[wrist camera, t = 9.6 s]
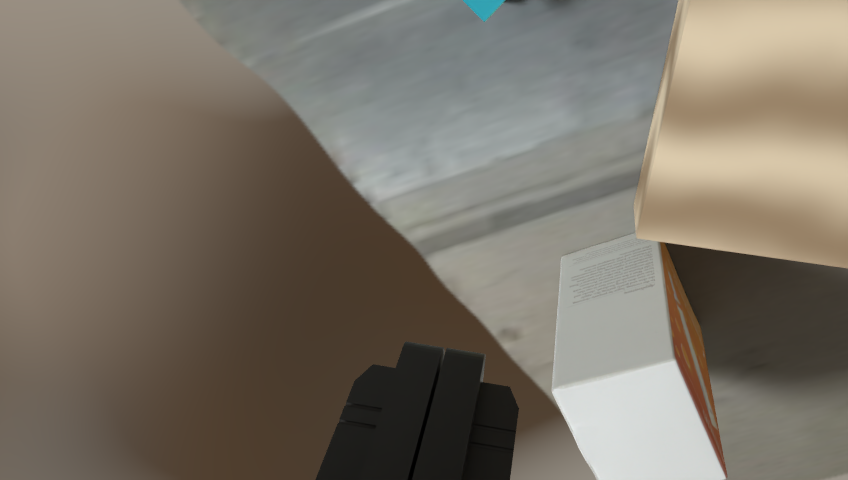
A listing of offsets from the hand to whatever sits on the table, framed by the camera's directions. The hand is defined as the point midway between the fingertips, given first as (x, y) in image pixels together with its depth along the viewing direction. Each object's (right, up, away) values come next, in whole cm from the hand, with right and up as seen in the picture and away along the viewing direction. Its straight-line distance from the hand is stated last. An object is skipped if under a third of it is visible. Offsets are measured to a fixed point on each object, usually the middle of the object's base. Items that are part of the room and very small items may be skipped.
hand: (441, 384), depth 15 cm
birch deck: (+18, +11, +27) cm, 35 cm away
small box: (+13, 0, +35) cm, 38 cm away
